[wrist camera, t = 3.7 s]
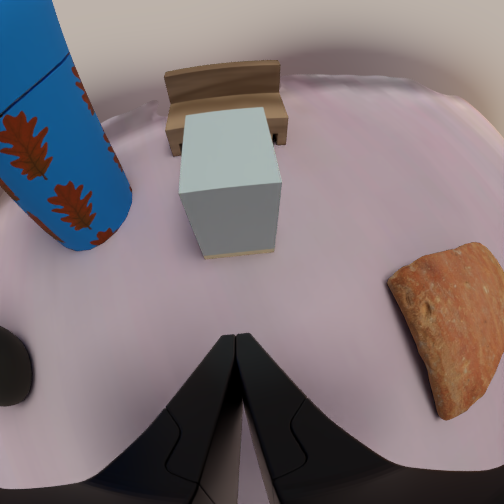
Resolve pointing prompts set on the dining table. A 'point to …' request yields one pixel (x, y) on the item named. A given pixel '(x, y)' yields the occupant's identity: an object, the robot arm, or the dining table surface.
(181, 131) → the wooden toy bench
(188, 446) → the robot arm
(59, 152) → the thermos
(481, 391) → the brown rounded piece
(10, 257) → the dining table surface
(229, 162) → the cover
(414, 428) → the dining table surface
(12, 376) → the cola bottle
